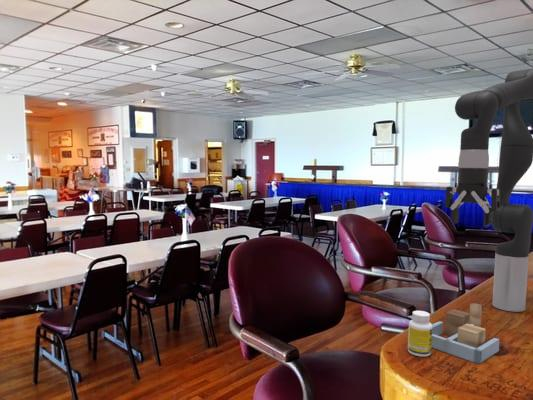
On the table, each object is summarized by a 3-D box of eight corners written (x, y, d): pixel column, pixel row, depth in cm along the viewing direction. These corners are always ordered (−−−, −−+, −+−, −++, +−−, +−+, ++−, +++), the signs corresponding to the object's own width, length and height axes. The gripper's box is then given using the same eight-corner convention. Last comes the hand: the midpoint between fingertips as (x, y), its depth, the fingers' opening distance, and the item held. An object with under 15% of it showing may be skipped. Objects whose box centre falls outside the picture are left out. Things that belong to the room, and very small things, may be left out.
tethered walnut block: (469, 322, 126) (470, 301, 126) (485, 326, 123) (486, 306, 122) (445, 334, 117) (446, 312, 117) (462, 339, 114) (463, 317, 113)
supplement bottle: (433, 358, 103) (434, 317, 102) (409, 356, 104) (410, 316, 103) (429, 348, 108) (431, 310, 107) (406, 346, 109) (407, 308, 108)
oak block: (465, 346, 110) (466, 323, 109) (484, 352, 106) (485, 328, 106) (456, 351, 107) (457, 327, 106) (475, 358, 103) (477, 333, 103)
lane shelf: (438, 331, 119) (439, 321, 119) (498, 351, 107) (499, 339, 107) (416, 342, 112) (417, 330, 112) (478, 364, 100) (479, 351, 100)
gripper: (506, 166, 117) (502, 226, 119) (454, 166, 128) (452, 220, 130) (494, 167, 113) (491, 229, 114) (441, 166, 123) (439, 223, 125)
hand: (470, 224), depth 122 cm, fingers open, 8 cm apart
